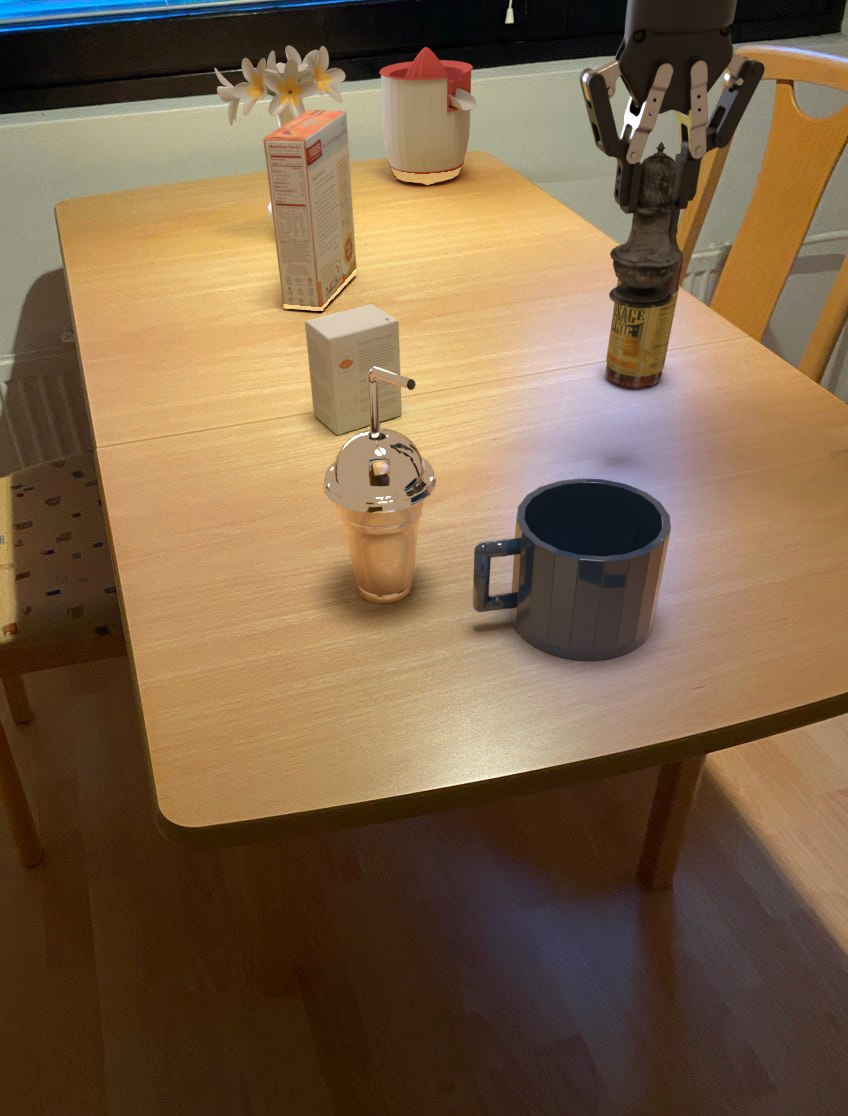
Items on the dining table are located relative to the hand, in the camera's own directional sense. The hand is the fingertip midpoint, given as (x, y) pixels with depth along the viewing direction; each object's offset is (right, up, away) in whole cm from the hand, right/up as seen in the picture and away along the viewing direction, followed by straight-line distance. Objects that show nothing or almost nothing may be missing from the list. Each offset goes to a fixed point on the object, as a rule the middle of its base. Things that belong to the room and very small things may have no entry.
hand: (653, 207), depth 77 cm
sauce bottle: (+6, -6, +29) cm, 30 cm away
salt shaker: (0, -6, +5) cm, 7 cm away
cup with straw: (-22, -31, +1) cm, 38 cm away
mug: (-8, -33, -3) cm, 34 cm away
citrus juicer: (-12, +47, +94) cm, 106 cm away
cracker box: (-29, +12, +53) cm, 62 cm away
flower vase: (-34, +28, +72) cm, 85 cm away
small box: (-24, -11, +25) cm, 36 cm away
